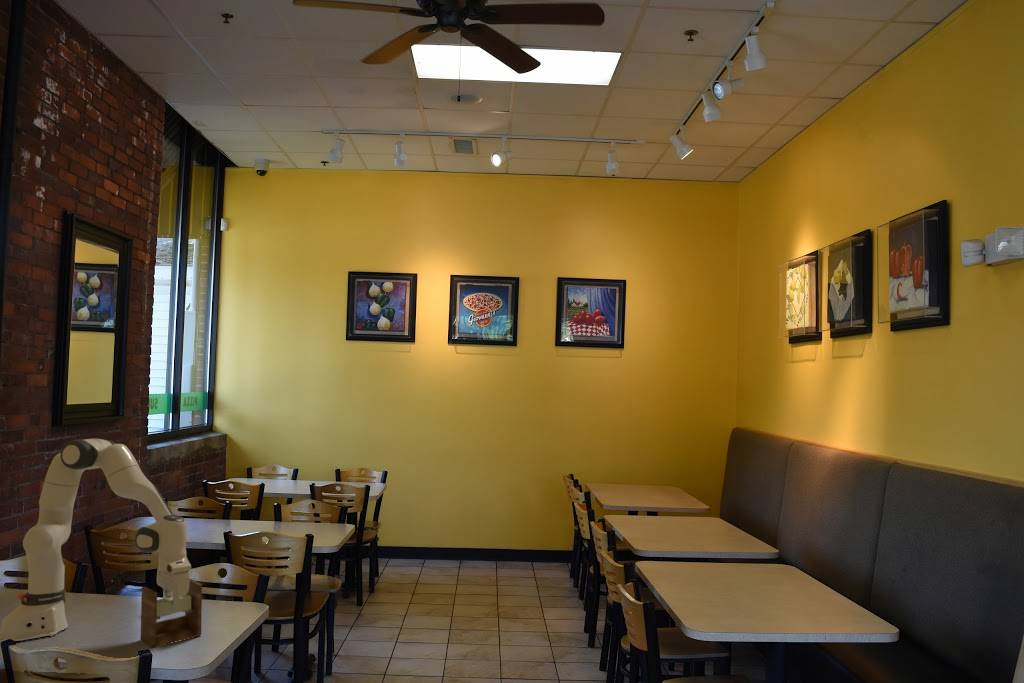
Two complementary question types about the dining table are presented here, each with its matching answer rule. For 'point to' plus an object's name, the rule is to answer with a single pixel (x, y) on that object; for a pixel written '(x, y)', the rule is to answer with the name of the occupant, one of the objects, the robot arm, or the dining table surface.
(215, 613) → the dining table surface
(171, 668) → the dining table surface
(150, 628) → the wooden napkin holder
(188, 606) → the cream rectangular block
